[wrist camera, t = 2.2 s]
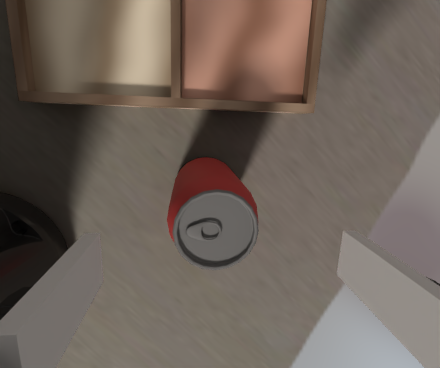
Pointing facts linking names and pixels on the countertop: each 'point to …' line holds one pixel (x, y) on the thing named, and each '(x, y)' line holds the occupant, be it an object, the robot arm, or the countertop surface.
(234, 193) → the beer can
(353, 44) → the countertop surface
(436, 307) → the robot arm
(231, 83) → the caddy tray
